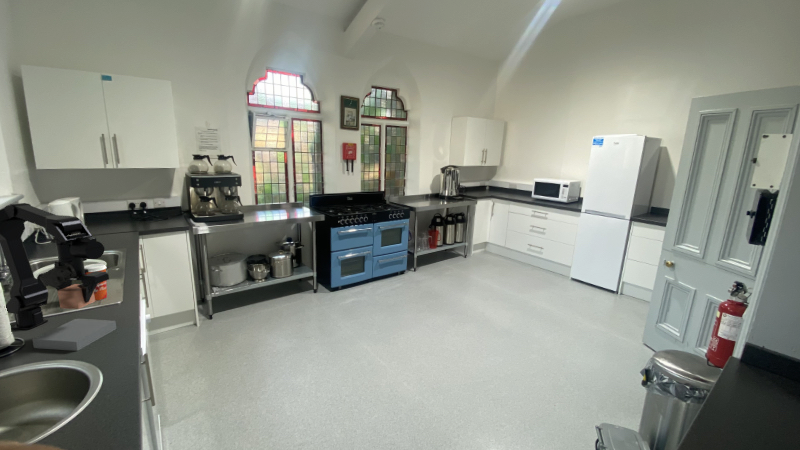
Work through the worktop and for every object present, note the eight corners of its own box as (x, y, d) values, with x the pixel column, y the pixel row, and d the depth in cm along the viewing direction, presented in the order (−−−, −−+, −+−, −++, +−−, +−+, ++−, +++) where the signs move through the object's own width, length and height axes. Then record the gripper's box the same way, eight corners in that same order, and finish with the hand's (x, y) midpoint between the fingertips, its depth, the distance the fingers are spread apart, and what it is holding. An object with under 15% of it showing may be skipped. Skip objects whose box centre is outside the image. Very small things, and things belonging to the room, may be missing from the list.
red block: (60, 308, 111) (57, 290, 110) (77, 300, 117) (75, 284, 116) (78, 308, 111) (76, 291, 110) (95, 301, 117) (92, 284, 116)
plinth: (33, 348, 106) (32, 339, 106) (77, 326, 120) (76, 318, 120) (77, 350, 106) (76, 341, 105) (116, 328, 120) (115, 320, 119)
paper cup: (95, 302, 139) (91, 269, 136) (80, 300, 140) (76, 267, 137) (115, 295, 146) (111, 264, 144) (100, 293, 148) (96, 262, 145)
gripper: (13, 262, 103) (22, 311, 106) (75, 264, 103) (82, 313, 106) (51, 252, 114) (58, 297, 117) (107, 254, 114) (113, 299, 117)
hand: (77, 301), depth 114 cm, fingers closed on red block, 6 cm apart
